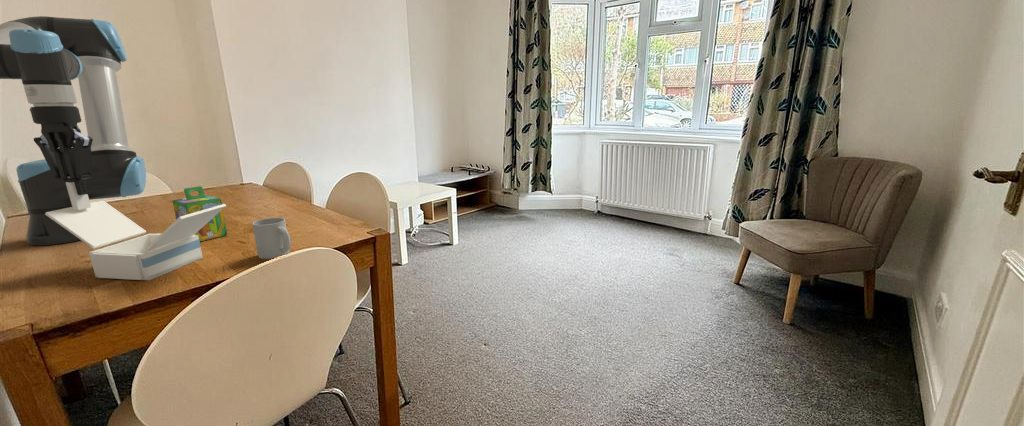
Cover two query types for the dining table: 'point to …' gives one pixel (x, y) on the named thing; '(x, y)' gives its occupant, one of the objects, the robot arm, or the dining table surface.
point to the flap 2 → (185, 226)
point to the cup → (271, 237)
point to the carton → (144, 258)
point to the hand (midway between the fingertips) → (82, 208)
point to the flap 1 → (96, 224)
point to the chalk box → (198, 203)
